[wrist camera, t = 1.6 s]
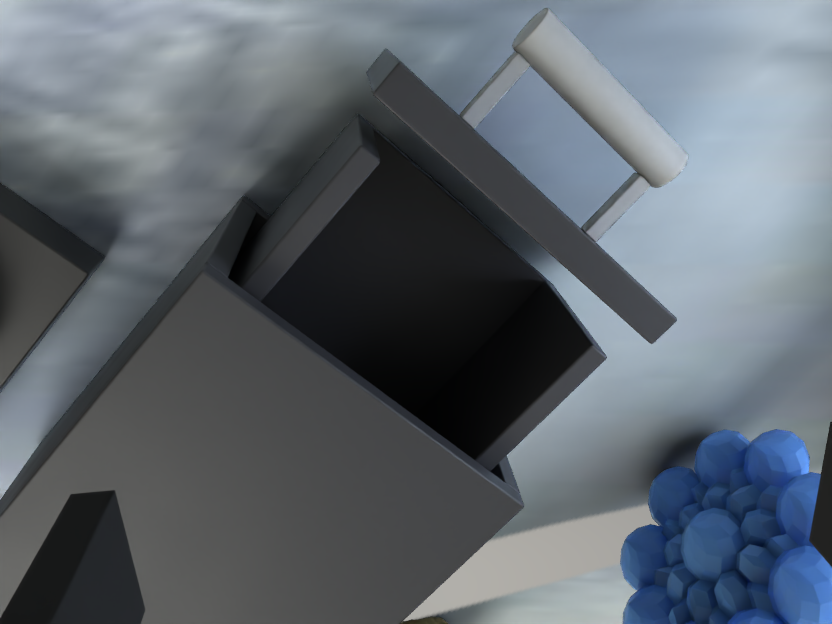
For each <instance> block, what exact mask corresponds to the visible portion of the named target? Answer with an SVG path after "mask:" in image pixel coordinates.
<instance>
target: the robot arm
mask: <svg viewBox="0 0 832 624" xmlns="http://www.w3.org/2000/svg"><path fill="white" fill-rule="evenodd" d="M809 541H810V542H811V543H812V545H813V546H814V547H815V548H816V549H817V550H818V552H819V553H820V554H821V555H822V556H823V557H824V559H825V560H826V561H827V562H828V563H829V564H830V566H831V567H832V422H830V427H829V433H828V438H827V444H826V450H825V455H824V461H823V466H822V472H821V477H820V483H819V488H818V494H817V499H816V505H815V510H814V516H813V521H812V527H811V532H810V538H809ZM145 610H146V609H145V606H144V602H143V598H142V594H141V590H140V586H139V582H138V578H137V574H136V570H135V566H134V563H133V559H132V555H131V551H130V547H129V543H128V539H127V535H126V531H125V527H124V523H123V520H122V516H121V512H120V508H119V504H118V500H117V496H116V492H115V490H109V491H98V492H88V493H77V494H71V495H70V496H69V498H68V500H67V502H66V503H65V505H64V507H63V509H62V510H61V512H60V514H59V516H58V517H57V519H56V521H55V523H54V525H53V526H52V528H51V530H50V532H49V533H48V535H47V537H46V539H45V540H44V542H43V544H42V546H41V547H40V549H39V551H38V553H37V554H36V556H35V558H34V560H33V561H32V563H31V565H30V567H29V568H28V570H27V572H26V574H25V575H24V577H23V579H22V581H21V582H20V584H19V586H18V588H17V589H16V591H15V593H14V595H13V596H12V598H11V600H10V602H9V604H8V605H7V607H6V609H5V611H4V612H3V614H2V616H1V618H0V624H141V621H142V618H143V616H144V613H145Z"/></svg>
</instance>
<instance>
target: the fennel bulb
mask: <svg viewBox="0 0 832 624" xmlns="http://www.w3.org/2000/svg"><path fill="white" fill-rule="evenodd" d="M400 624H448V623H447V622H446V621H445V620H443V619H442V618H440V617H427V618H423V619H419V620H409V621H403V622H401V623H400Z"/></svg>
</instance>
